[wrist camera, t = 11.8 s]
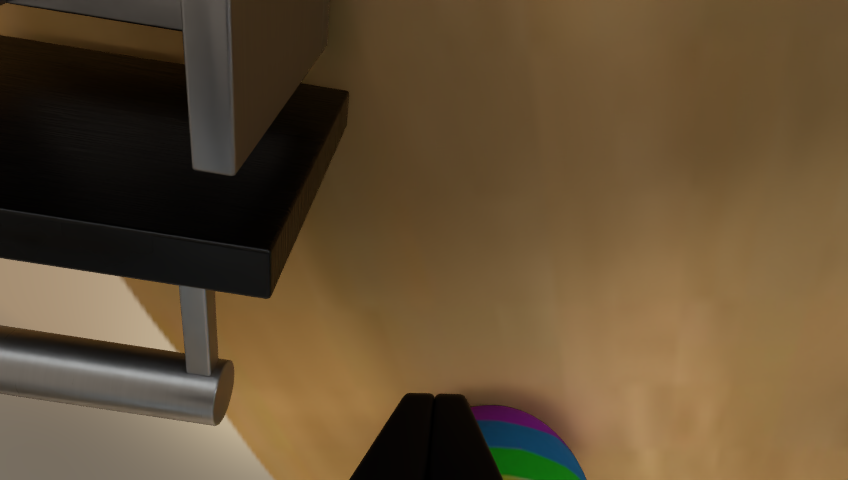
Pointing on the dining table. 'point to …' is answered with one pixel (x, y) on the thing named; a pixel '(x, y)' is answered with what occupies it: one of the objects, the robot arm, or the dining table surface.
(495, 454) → the decorative egg
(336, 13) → the dining table surface
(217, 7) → the drawer with bar handle
